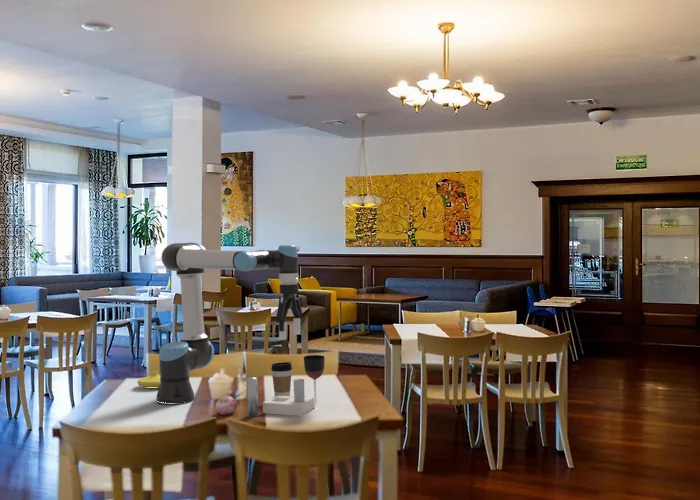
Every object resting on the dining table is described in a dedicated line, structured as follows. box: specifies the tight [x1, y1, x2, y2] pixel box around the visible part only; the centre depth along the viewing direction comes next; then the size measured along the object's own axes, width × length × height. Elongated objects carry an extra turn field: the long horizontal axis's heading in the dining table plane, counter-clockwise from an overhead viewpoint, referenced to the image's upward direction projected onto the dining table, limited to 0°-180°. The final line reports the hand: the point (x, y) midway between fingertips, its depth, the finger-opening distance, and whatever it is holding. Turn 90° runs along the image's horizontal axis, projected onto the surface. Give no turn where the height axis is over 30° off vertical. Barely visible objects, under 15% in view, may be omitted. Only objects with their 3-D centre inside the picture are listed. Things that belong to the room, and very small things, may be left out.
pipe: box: [246, 376, 259, 418], centre depth 263 cm, size 4×4×14 cm
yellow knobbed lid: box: [136, 370, 160, 388], centre depth 317 cm, size 16×16×7 cm
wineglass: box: [303, 354, 326, 407], centre depth 272 cm, size 8×9×20 cm
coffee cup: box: [270, 361, 293, 397], centre depth 286 cm, size 8×8×15 cm
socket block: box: [262, 378, 315, 417], centre depth 268 cm, size 16×12×12 cm
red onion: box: [215, 394, 238, 416], centre depth 266 cm, size 8×8×7 cm
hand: (290, 336), depth 281 cm, fingers open, 13 cm apart
